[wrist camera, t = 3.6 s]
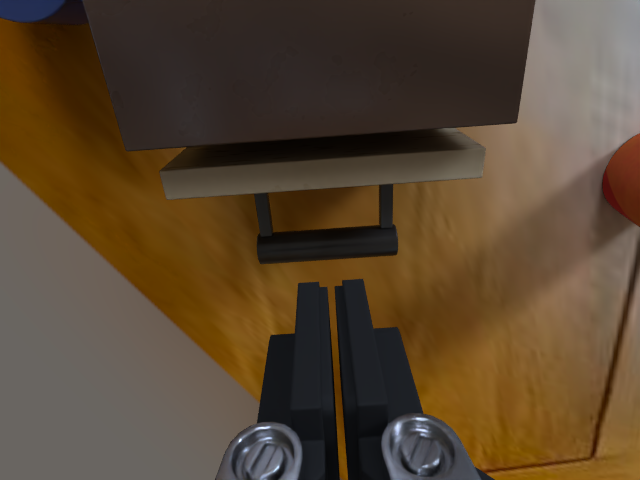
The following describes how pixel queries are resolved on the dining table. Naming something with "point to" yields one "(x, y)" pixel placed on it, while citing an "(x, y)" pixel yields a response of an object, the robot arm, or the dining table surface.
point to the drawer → (324, 182)
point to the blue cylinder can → (44, 11)
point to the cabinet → (307, 67)
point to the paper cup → (624, 180)
